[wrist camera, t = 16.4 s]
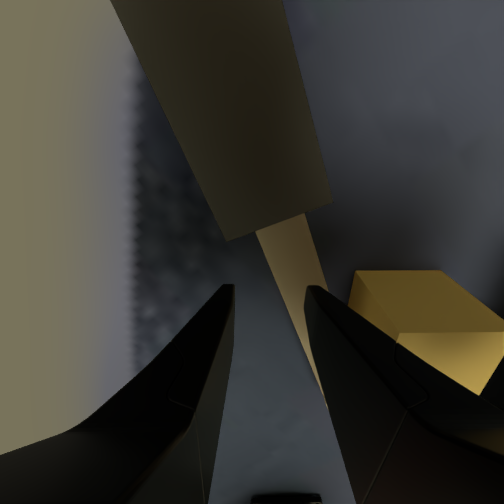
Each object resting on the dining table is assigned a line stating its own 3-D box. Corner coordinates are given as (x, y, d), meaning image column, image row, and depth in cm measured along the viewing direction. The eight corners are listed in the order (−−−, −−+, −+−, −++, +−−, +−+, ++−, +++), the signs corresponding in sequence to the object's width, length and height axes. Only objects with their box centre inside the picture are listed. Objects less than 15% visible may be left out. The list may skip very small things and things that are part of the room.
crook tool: (315, 387, 18) (339, 477, 13) (163, 32, 9) (89, -45, 5) (430, 355, 17) (498, 442, 12) (383, -79, 8) (553, -316, 4)
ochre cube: (414, 334, 16) (471, 406, 12) (340, 334, 16) (372, 408, 12) (439, 269, 14) (518, 331, 10) (354, 269, 14) (399, 333, 10)
